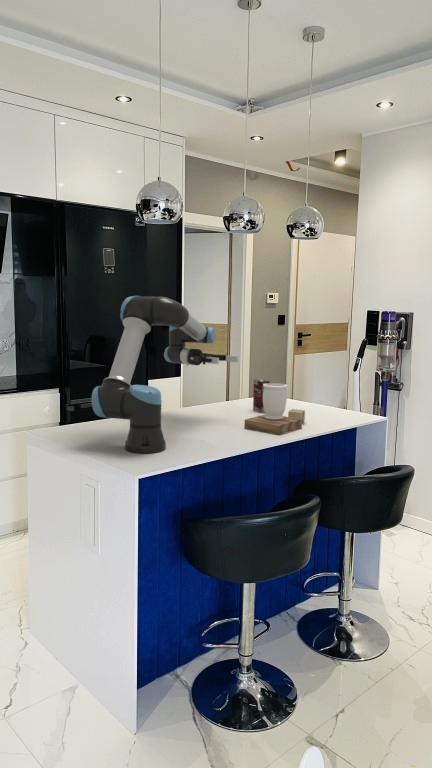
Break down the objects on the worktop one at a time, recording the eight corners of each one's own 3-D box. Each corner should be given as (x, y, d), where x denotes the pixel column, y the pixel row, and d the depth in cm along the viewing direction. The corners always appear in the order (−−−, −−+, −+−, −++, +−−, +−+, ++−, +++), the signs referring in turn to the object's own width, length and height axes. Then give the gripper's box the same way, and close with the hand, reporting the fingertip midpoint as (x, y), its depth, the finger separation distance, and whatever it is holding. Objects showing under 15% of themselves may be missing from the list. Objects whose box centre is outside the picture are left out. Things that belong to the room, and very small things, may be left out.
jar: (268, 421, 259) (269, 386, 257) (258, 416, 268) (258, 383, 266) (290, 419, 263) (291, 385, 261) (279, 415, 273) (280, 382, 270)
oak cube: (300, 425, 271) (301, 412, 270) (288, 424, 273) (288, 411, 272) (304, 423, 276) (304, 410, 276) (291, 421, 279) (292, 409, 278)
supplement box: (252, 410, 304) (253, 379, 302) (260, 409, 306) (261, 378, 304) (260, 413, 297) (261, 381, 294) (269, 412, 299) (270, 381, 296)
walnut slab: (279, 435, 251) (279, 425, 251) (244, 428, 262) (244, 419, 262) (301, 428, 265) (301, 419, 265) (267, 422, 276) (267, 413, 276)
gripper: (209, 363, 289) (244, 366, 275) (173, 366, 269) (209, 370, 256) (209, 347, 288) (245, 350, 274) (173, 349, 268) (209, 352, 255)
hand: (228, 360), depth 265 cm, fingers open, 13 cm apart
